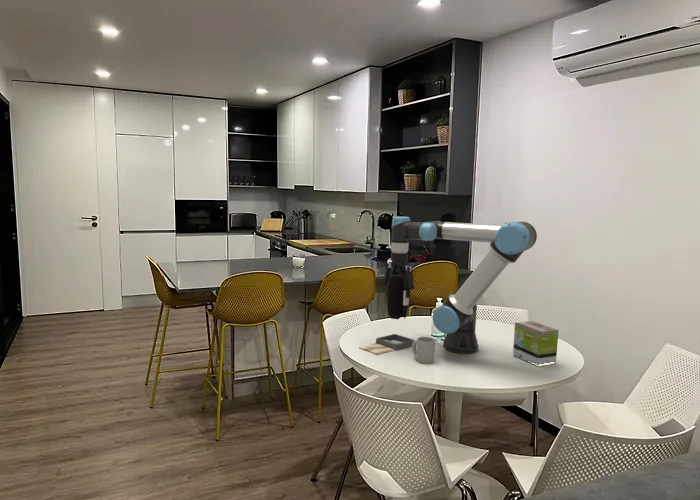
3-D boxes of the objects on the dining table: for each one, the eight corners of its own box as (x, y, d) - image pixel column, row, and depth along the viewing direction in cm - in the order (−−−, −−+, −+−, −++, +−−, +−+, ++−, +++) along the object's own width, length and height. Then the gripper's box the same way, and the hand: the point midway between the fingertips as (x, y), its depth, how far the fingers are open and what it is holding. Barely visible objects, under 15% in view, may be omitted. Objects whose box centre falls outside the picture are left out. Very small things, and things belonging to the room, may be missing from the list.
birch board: (393, 350, 220) (393, 349, 220) (377, 354, 213) (377, 353, 213) (375, 344, 228) (375, 343, 228) (359, 348, 221) (359, 347, 221)
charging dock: (414, 345, 228) (415, 339, 228) (396, 350, 220) (396, 343, 220) (394, 339, 237) (395, 332, 237) (375, 343, 229) (376, 337, 228)
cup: (427, 365, 202) (429, 343, 201) (406, 359, 209) (407, 337, 208) (437, 361, 208) (438, 339, 207) (416, 355, 214) (417, 334, 213)
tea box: (511, 355, 218) (514, 321, 216) (530, 353, 222) (532, 320, 220) (537, 367, 204) (540, 331, 203) (556, 364, 208) (559, 329, 207)
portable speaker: (410, 319, 224) (412, 275, 222) (390, 320, 222) (391, 275, 219) (403, 314, 232) (405, 271, 230) (383, 315, 230) (385, 272, 228)
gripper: (424, 254, 218) (422, 306, 221) (387, 249, 234) (385, 298, 237) (412, 255, 213) (410, 308, 216) (375, 250, 229) (374, 300, 232)
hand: (397, 303), depth 226 cm, fingers closed on portable speaker, 9 cm apart
